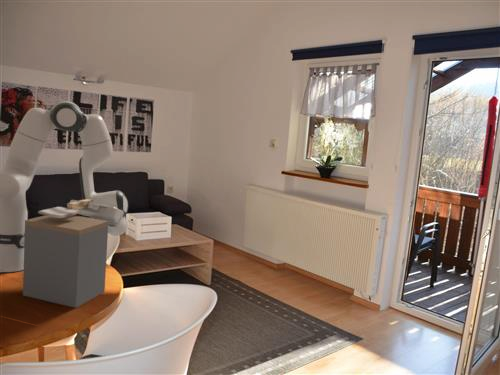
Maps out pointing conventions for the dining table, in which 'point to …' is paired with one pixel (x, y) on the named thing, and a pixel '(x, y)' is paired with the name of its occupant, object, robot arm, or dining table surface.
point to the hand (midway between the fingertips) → (84, 202)
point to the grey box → (65, 259)
